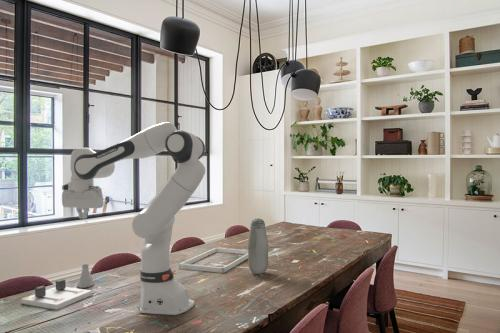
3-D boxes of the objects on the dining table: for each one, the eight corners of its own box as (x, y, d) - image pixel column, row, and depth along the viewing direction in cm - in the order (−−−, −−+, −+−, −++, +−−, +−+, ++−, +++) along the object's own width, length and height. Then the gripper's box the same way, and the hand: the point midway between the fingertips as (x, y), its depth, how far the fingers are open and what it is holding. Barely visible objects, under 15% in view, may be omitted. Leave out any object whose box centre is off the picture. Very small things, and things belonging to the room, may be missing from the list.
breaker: (65, 288, 169) (65, 279, 169) (59, 290, 167) (59, 281, 166) (61, 287, 170) (61, 279, 170) (55, 289, 167) (55, 281, 167)
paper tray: (254, 254, 235) (254, 250, 235) (223, 273, 197) (223, 268, 197) (215, 251, 246) (215, 247, 246) (178, 268, 207) (178, 263, 207)
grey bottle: (267, 276, 189) (265, 220, 188) (246, 276, 191) (245, 220, 191) (270, 271, 198) (268, 217, 198) (250, 270, 200) (249, 217, 200)
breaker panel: (92, 295, 167) (91, 290, 167) (56, 309, 150) (56, 304, 150) (58, 290, 174) (58, 285, 174) (21, 303, 158) (21, 298, 158)
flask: (89, 282, 185) (88, 262, 185) (96, 285, 180) (96, 264, 180) (74, 286, 180) (73, 265, 179) (81, 289, 175) (81, 267, 175)
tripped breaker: (45, 295, 160) (45, 286, 160) (39, 297, 157) (39, 288, 157) (41, 294, 161) (41, 285, 161) (35, 297, 158) (34, 288, 158)
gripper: (106, 185, 162) (107, 218, 162) (70, 185, 170) (71, 216, 170) (95, 186, 156) (96, 220, 156) (58, 186, 164) (59, 218, 164)
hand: (82, 218), depth 163 cm, fingers closed
